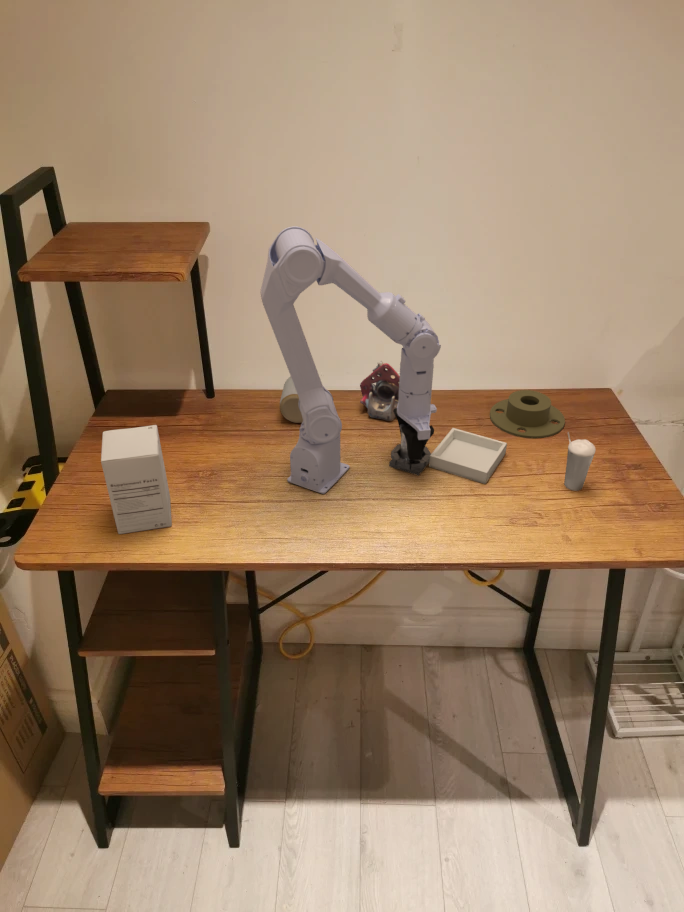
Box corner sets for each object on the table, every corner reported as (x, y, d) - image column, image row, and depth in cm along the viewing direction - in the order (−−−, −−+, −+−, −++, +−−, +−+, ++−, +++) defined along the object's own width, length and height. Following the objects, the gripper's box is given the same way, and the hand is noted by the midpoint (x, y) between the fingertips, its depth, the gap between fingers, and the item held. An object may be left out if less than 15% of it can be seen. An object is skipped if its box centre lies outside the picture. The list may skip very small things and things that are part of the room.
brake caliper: (348, 411, 145) (361, 353, 146) (362, 418, 156) (373, 364, 156) (403, 422, 142) (415, 362, 142) (413, 428, 153) (424, 373, 153)
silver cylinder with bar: (402, 465, 132) (404, 432, 128) (396, 453, 136) (398, 420, 131) (425, 462, 133) (428, 429, 129) (419, 451, 136) (421, 417, 132)
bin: (485, 484, 129) (486, 472, 128) (428, 466, 134) (429, 455, 132) (505, 453, 137) (507, 443, 136) (451, 438, 142) (452, 427, 140)
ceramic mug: (278, 424, 146) (277, 391, 142) (284, 404, 153) (283, 371, 148) (330, 427, 146) (331, 394, 141) (334, 406, 152) (334, 374, 148)
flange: (484, 410, 142) (562, 426, 137) (500, 377, 153) (573, 390, 149) (481, 430, 145) (558, 446, 140) (498, 396, 156) (569, 409, 151)
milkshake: (565, 473, 132) (574, 426, 126) (591, 485, 129) (602, 438, 123) (551, 483, 129) (560, 436, 124) (578, 496, 126) (589, 449, 121)
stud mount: (420, 477, 131) (420, 468, 130) (385, 466, 134) (385, 457, 133) (435, 458, 136) (436, 449, 135) (401, 448, 139) (402, 438, 138)
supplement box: (118, 502, 125) (101, 429, 117) (170, 494, 127) (157, 423, 119) (116, 535, 118) (98, 461, 110) (172, 527, 120) (159, 453, 111)
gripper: (449, 405, 120) (443, 471, 128) (426, 366, 132) (421, 428, 140) (408, 409, 119) (405, 475, 127) (388, 369, 131) (386, 432, 139)
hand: (411, 451), depth 133 cm, fingers closed on silver cylinder with bar, 4 cm apart
